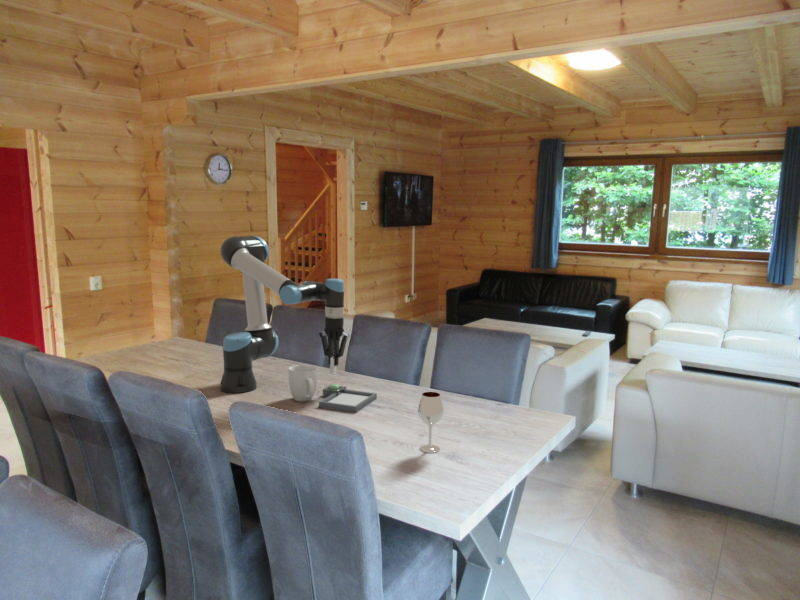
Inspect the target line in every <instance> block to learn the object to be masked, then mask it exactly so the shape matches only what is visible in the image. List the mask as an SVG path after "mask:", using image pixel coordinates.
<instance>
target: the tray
mask: <svg viewBox="0 0 800 600" xmlns="http://www.w3.org/2000/svg"><path fill="white" fill-rule="evenodd" d="M377 396H378V395H377V393H375V392H367V391H362V390H361V391H360V390H353V389H347V388H346V389H344V393H342V394H340V395H339V396H337V393H333V394H332V395H330V396H328V397H325V398H323V399H321V400H319V402H318V408H322V409H327V410H328V409H329V410H334V411H335V410H336V411H341V412H350V413H358V412H360V411H361V410H362V409H364V408H365V407H367V406H368V405H369V404H372V402H374V401H375V400H377V399H378V398H377Z"/></svg>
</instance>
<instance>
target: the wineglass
mask: <svg viewBox="0 0 800 600" xmlns="http://www.w3.org/2000/svg"><path fill="white" fill-rule="evenodd" d="M444 413H445V411H444V405H443V401H442V397H441V393H439V392H436V391H426V392H422V393H421V397H420V399H419V404H418V408H417V415H418V417H419V418H420V420H421V421H422V422H423V423H425V425H427V426H428V444H424V445H421V446H420V448H419V450H420V451H421V452H423V453H427V454H435V453H439V452H440V451H441V450H440V449H441V448H440V447H439V446H437V445H435V444H432V434H433V433H432V430H433V426H434V425H436V424H437V423H438V422H440V421H441V419H443V416H444Z"/></svg>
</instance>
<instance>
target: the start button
mask: <svg viewBox="0 0 800 600" xmlns="http://www.w3.org/2000/svg"><path fill="white" fill-rule="evenodd" d="M329 386H330V389H332V390H338V389H339V386H340V384H339V383H331V384H329Z"/></svg>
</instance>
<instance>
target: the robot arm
mask: <svg viewBox="0 0 800 600" xmlns="http://www.w3.org/2000/svg"><path fill="white" fill-rule="evenodd" d="M268 245H269V244H267V242H266V241H265V240H264V239H263V238H262V237H260V236H255V235H248V236H247V235H246V236H245V235H244V236H236V235H235V236H230V237H228V238H226V239H225V240H223V242H222V244H221V245H220V252H219V253H220V256H221V258H222V260H223V261H224V263H226V264H227V265H228V266H229V267H231V268H232V269H235V270H240V271H241V273H242V274H241V275H242V283H243V284H242V285H243V292H244V293H243V294H244V300H245V301H244V302H245V311H246V318H247V319H246V321H247V327H245V328H244V331H239V332H233V333H229V334H227V335H226V336H225V337H223V342H222V343H223V344H222V352H223V353H222V354H223V357H222V358H223V373H222V375H221V376H222V377H221V380H220V383H219V389H220V391H221V392H223V393H229V394H240V393H247V392H252V391H253V390H254V391H255V390H256V389H257V388H258V386H257V385H258V382H257V380H256V377H255V374H254V371H253V361H256V360H259V359H264V358H268V357H270V356H272V355H273V354H275V353H276V351H277V350H278V348H279V336H278V334H276V332H275V331H274V330H273V327H272V325H271V324H269V323H268V313H267V303H266V296H265V288H267V289H270V290H271V291H273V292H274V293H276V294H277V295H278V296H279V299H280V301H281V302H282V303H283V304H284V305H289V306H290V305H298V304H301V303H307V302H311V301H320V302H325V303H324V305H325V306H324V308H325V310H324V313H325V315H324V316H325V317H324V326H325V327H324V330H323V331H320V332H319V333H318V335H319V337H320V338H321V346H322V348H323V353H324V356H327V357H328V365H329V366H330V367H329V368H330V370H329V373H330V374H332V375H334V374H336V373H337V370H338V369H337V366H339V359H340V358H341V357H343V356H344V352H345V348H346V345H347V340H348V339H349V337H350V335H349V334H347V333H345V330H344V323H345V322H344V321H345V320H344V315H345V312H344V311H345V309H344V308H345V307H344V306H345V304H344V300H345V291H346V290H345V281H344V280H343V279H341V278H327V279H325V282H320V281H313V280H310V281H308V280H305V281H303V282H302V283H296V282H295V281H293V280H291V279H289V277H286V276H285V275H284V274H282V273H281V272H279V271H277V270H276V269H274V268H273V267H271V266H269V265H268V264H267V263H265V262H266V260H267V259H268V257H269V254H270V249H269V246H268Z"/></svg>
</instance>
